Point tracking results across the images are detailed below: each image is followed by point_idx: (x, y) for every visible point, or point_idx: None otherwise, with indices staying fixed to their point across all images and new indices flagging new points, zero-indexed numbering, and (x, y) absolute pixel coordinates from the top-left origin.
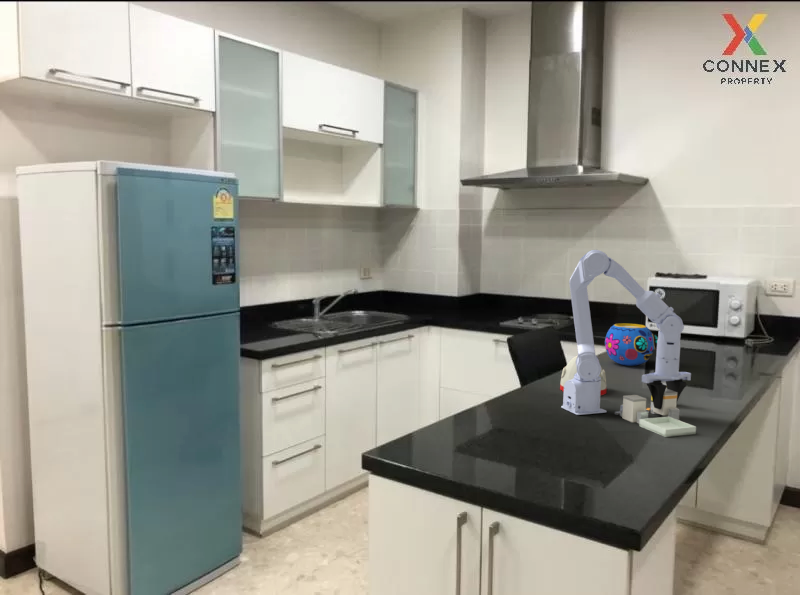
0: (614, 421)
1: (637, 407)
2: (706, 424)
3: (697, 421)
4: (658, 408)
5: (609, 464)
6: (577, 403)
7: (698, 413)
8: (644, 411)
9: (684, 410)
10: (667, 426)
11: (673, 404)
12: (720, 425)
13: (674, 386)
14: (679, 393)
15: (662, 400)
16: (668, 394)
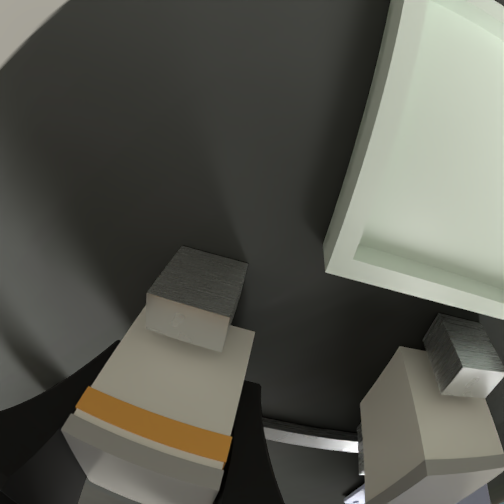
0: (496, 390)
1: (472, 423)
2: (89, 90)
3: (86, 166)
4: (260, 392)
5: None
6: (484, 491)
7: (3, 261)
8: (464, 383)
9: (32, 320)
10: (473, 175)
11: (141, 361)
12: (41, 48)
13: (50, 480)
14: (43, 406)
15: (236, 433)
16: (174, 462)
